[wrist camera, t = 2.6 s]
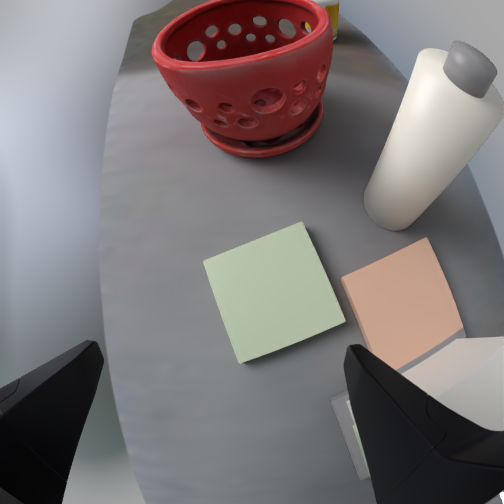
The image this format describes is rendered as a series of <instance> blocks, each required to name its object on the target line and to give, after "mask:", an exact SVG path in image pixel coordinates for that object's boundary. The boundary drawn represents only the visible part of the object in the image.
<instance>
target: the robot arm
mask: <svg viewBox="0 0 504 504" xmlns="http://www.w3.org/2000/svg"><path fill="white" fill-rule="evenodd" d="M103 364H104V358H103V355H102V353H101V350H100V348H99V345H98V343H97V342H96V341H92V340H86V341H84V342H82V343H81V344H79V345H77V346H75V347H73V348H72V349H70V350H68V351H66V352H65V353H63V354H61V355H59V356H57V357H56V358H54V359H52V360H50V361H49V362H47V363H45V364H43V365H41V366H40V367H38V368H36V369H34V370H33V371H31V372H29V373H27V374H25V375H24V376H22V377H21V378H18V379H17V380H15V381H13V382H11V383H9V384H7V385H6V386H4V387H2V388H0V504H62V501H63V497H64V492H65V488H66V484H67V482H66V481H67V480H68V476H69V473H70V469H71V465H72V462H73V459H74V455H75V452H76V449H77V446H78V442H79V439H80V436H81V433H82V430H83V427H84V424H85V421H86V418H87V416H88V413H89V410H90V408H91V405H92V402H93V399H94V396H95V393H96V390H97V386H98V382H99V379H100V374H101V371H102V367H103ZM344 372H345V377H346V383H347V388H348V394H349V400H350V405H351V409H352V412H353V416H354V419H355V423H356V426H357V429H358V433H359V436H360V440H361V444H362V447H363V451H364V455H365V458H366V462H367V466H368V470H369V473H370V477H371V481H372V485H373V489H374V493H375V497H376V502H377V504H504V431H493V430H489V429H486V428H483V427H481V426H480V425H478V424H476V423H474V422H472V421H470V420H469V419H467V418H465V417H463V416H461V415H460V414H458V413H456V412H455V411H453V410H451V409H450V408H448V407H446V406H445V405H443V404H442V403H440V402H439V401H437V400H436V399H435V398H433V397H432V396H430V395H428V394H427V393H426V392H425V391H423V390H422V389H421V388H419V387H418V386H417V385H415V384H414V383H412V382H411V381H410V380H408V379H407V378H406V377H404V376H403V375H401V374H400V373H399V372H397V371H396V370H395V369H393V368H392V367H391V366H389V365H388V364H386V363H385V362H384V361H382V360H381V359H380V358H378V357H377V356H376V355H374V354H373V353H371V352H370V351H369V350H367V349H366V348H365V347H363V346H362V345H360V344H354V345H349V346H348V348H347V351H346V356H345V360H344Z"/></svg>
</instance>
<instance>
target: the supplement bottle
mask: <svg viewBox="0 0 504 504" xmlns="http://www.w3.org/2000/svg"><path fill="white" fill-rule="evenodd" d="M312 1H314V2H316V3H318V4H319V5H321V6H322V7H323V8H324V9H325V10H326V11H327V12H328V14H329V15H330V18H331V22H332V29H333V41H334V40H335V39H336V37H337V28H338V13H339V0H312ZM305 27H306V30H307V31H308V32H309V33H311V27H310V25H309V24H308V23H307V22H306V23H305Z"/></svg>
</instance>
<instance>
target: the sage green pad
mask: <svg viewBox="0 0 504 504" xmlns="http://www.w3.org/2000/svg"><path fill="white" fill-rule="evenodd" d="M203 263H204V266H205V269H206V272H207V275H208V278H209V281H210V284H211V287H212V290H213V293H214V296H215V299H216V302H217V305H218V308H219V310H220V313H221V316H222V319H223V322H224V324H225V327H226V330H227V333H228V335H229V338H230V341H231V344H232V346H233V349H234V352H235V354H236V357H237V359H238V362H239V364H240V363H243V362H245V361H248V360H251V359H254V358H257V357H260V356H262V355H265V354H268V353H271V352H273V351H276V350H279V349H281V348H284V347H286V346H289V345H292V344H294V343H297V342H299V341H302V340H304V339H306V338H309V337H311V336H314V335H316V334H318V333H321V332H323V331H325V330H328V329H330V328H332V327H334V326H337V325H339V324H341V323H343V322H346V320H345V318H344V315H343V313H342V310H341V308H340V305H339V303H338V301H337V298H336V296H335V294H334V291H333V289H332V287H331V284H330V282H329V280H328V277H327V275H326V273H325V270H324V268H323V266H322V264H321V261H320V259H319V257H318V255H317V252H316V250H315V248H314V246H313V244H312V242H311V239H310V237H309V235H308V233H307V231H306V229H305V227H304V224H303V222H299V223H297V224H294V225H292V226H289V227H287V228H284V229H282V230H279V231H277V232H274V233H272V234H269V235H267V236H264V237H262V238H259V239H257V240H254V241H252V242H249V243H247V244H244V245H242V246H239V247H237V248H234V249H232V250H229V251H227V252H224V253H222V254H219V255H217V256H214V257H212V258H210V259H207V260H205V261H203Z"/></svg>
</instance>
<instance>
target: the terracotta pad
mask: <svg viewBox="0 0 504 504" xmlns="http://www.w3.org/2000/svg"><path fill="white" fill-rule="evenodd" d="M340 281H341V283H342V285H343V288H344V290H345V292H346V295H347V297H348V300H349V302H350V304H351V307H352V309H353V312H354V314H355V316H356V319H357V321H358V324H359V326H360V329H361V332H362V334H363V337H364V339H365V342H366V344H367V347H368V350H369V351H370V352H371V353H373V354H374V355H376V356H377V357H378V358H380V359H381V360H382V361H384V362H385V363H386V364H388V365H389V366H391V367H392V368H393V369H395V370H397V369H399V368H400V367H402V366H404V365H406V364H407V363H409V362H411V361H412V360H414V359H416V358H418V357H419V356H421V355H422V354H424V353H426V352H427V351H429V350H430V349H432V348H434V347H435V346H437V345H438V344H440V343H441V342H443V341H444V340H446V339H447V338H449V337H450V336H451V335H453V334H454V333H456V332H457V331H459V330H460V329H461V328H463V324H462V321H461V318H460V315H459V312H458V310H457V307H456V304H455V301H454V299H453V296H452V293H451V291H450V288H449V286H448V283H447V281H446V278H445V276H444V274H443V271H442V269H441V267H440V264H439V262H438V260H437V258H436V255H435V253H434V251H433V249H432V247H431V245H430V243H429V241H428V239H427V237H425V238H423V239H421V240H419V241H417V242H415V243H413V244H411V245H409V246H407V247H405V248H403V249H401V250H399V251H397V252H395V253H393V254H391V255H389V256H387V257H385V258H383V259H381V260H378V261H376V262H374V263H372V264H370V265H368V266H366V267H363V268H361V269H359V270H357V271H355V272H352V273H350V274H348V275H346V276H343V277H342V278H341V279H340Z"/></svg>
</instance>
